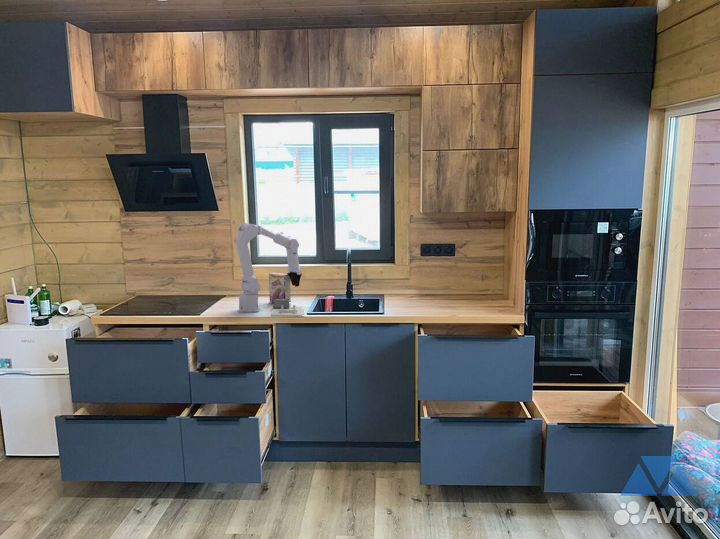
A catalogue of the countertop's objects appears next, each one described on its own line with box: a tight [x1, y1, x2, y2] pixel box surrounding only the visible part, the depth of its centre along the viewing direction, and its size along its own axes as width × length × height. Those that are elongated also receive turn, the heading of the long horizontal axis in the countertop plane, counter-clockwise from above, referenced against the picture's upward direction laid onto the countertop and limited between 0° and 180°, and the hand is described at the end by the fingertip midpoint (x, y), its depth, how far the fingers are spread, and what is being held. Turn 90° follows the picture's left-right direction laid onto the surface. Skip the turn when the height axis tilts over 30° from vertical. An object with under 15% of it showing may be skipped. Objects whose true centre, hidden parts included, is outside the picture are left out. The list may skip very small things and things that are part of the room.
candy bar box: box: [268, 272, 291, 303], centre depth 294 cm, size 11×5×16 cm, turn 59°
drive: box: [272, 299, 290, 310], centre depth 282 cm, size 8×4×5 cm, turn 95°
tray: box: [270, 305, 305, 317], centre depth 271 cm, size 16×14×3 cm
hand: (295, 285), depth 290 cm, fingers open, 3 cm apart
